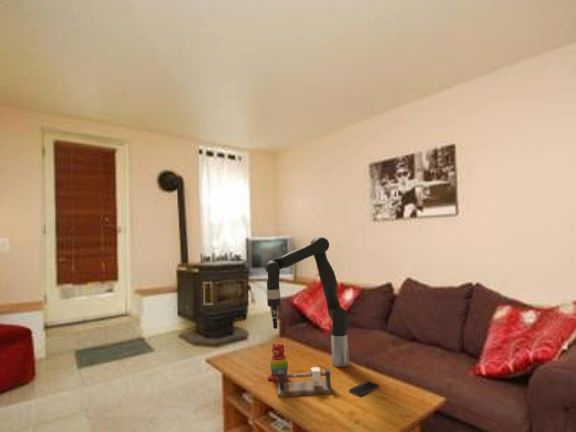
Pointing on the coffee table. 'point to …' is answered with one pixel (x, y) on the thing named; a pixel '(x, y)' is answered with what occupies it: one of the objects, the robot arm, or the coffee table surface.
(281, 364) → the stacking bear
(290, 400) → the coffee table surface
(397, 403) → the coffee table surface
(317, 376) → the sleeve
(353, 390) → the phone
